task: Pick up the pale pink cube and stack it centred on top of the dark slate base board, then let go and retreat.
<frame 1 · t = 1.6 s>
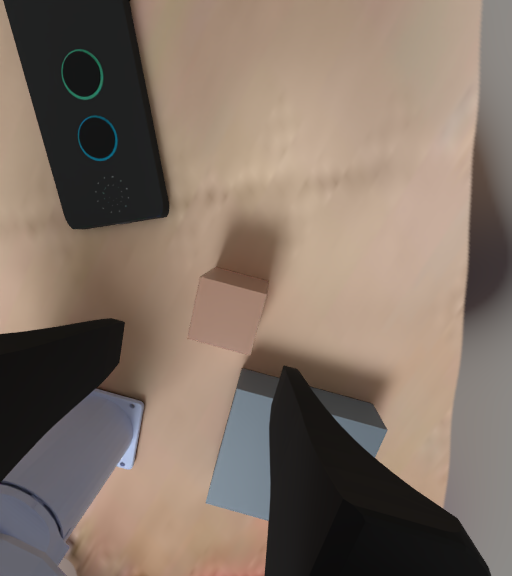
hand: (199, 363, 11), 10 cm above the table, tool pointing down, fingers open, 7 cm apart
pale pink cube: (236, 299, 21), on the table
base board: (288, 439, 24), on the table
smart home device: (97, 88, 19), on the table
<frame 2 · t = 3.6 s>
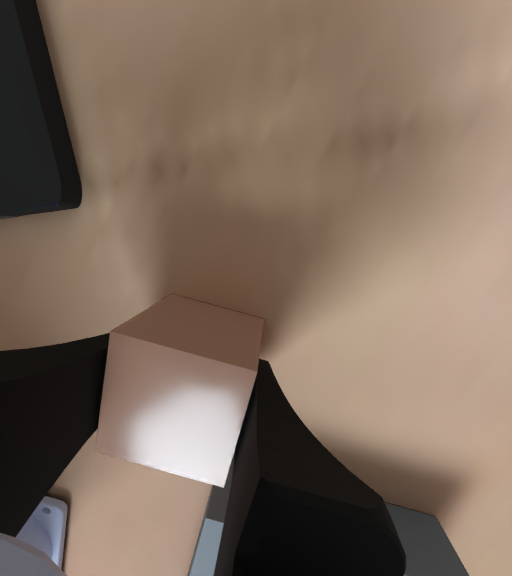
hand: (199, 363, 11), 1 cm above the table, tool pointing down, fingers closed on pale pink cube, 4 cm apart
pale pink cube: (207, 348, 12), on the table, touching gripper
base board: (295, 562, 15), on the table
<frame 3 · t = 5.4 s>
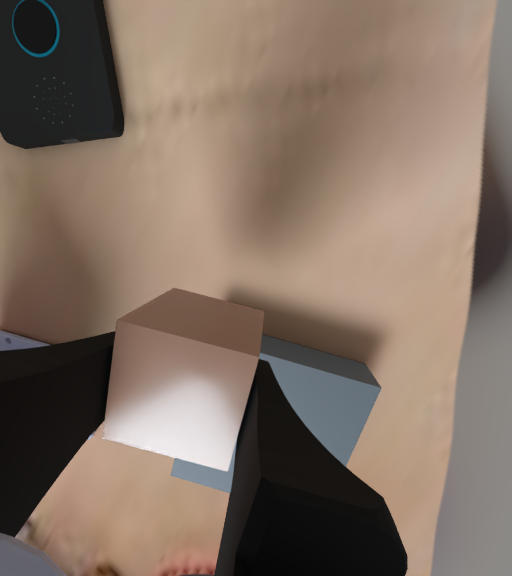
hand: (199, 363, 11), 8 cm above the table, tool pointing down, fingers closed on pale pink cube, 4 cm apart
pale pink cube: (210, 341, 13), point 7 cm above the table, touching gripper
base board: (268, 406, 21), on the table
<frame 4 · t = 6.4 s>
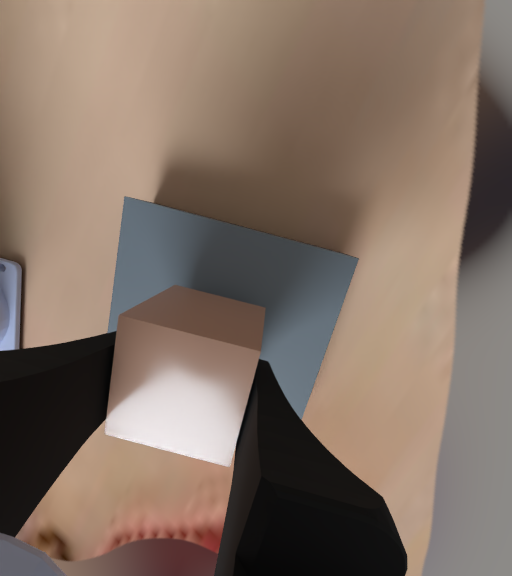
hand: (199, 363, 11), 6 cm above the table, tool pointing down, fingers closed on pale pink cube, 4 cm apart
pale pink cube: (211, 338, 13), point 4 cm above the table, touching gripper
base board: (225, 317, 17), on the table
when the fingers open (6 cm above the table, at t = 7.2 s): pale pink cube drops 1 cm, resting on base board.
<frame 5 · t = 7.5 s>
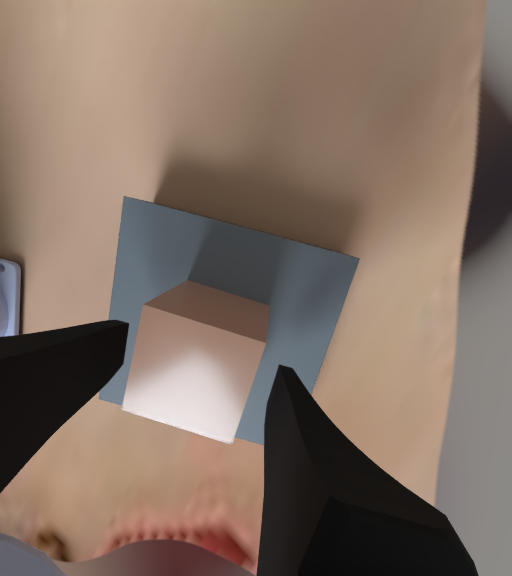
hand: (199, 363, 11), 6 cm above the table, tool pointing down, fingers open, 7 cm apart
pale pink cube: (217, 330, 14), point 3 cm above the table, touching base board
base board: (225, 318, 17), on the table
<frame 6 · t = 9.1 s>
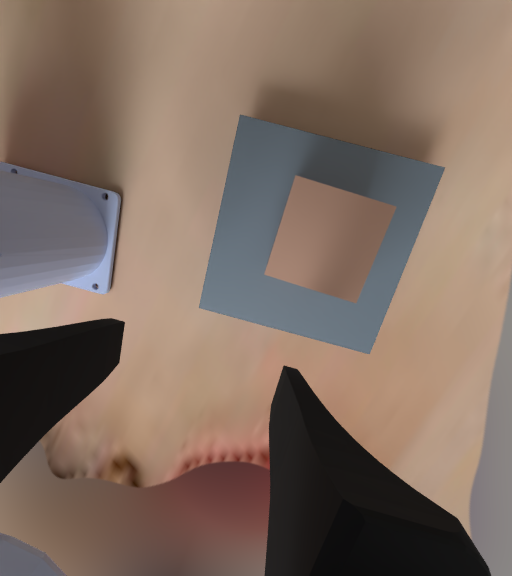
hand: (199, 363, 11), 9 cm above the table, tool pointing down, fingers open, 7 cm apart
pale pink cube: (312, 239, 16), point 3 cm above the table, touching base board
base board: (304, 242, 19), on the table
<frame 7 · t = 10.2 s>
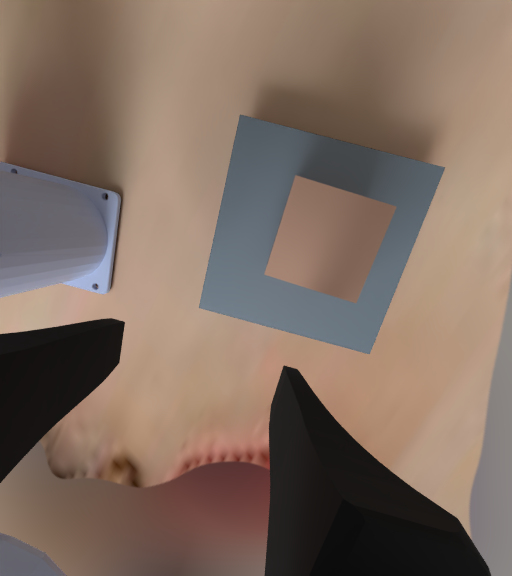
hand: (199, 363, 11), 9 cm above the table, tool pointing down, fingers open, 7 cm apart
pale pink cube: (312, 239, 16), point 3 cm above the table, touching base board
base board: (304, 242, 19), on the table
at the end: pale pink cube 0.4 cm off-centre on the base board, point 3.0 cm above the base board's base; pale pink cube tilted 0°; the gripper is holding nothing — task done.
